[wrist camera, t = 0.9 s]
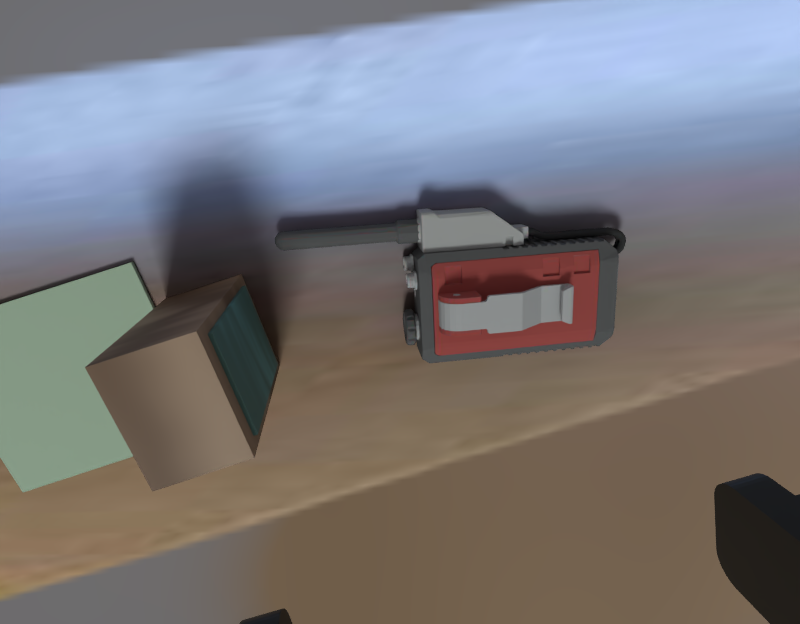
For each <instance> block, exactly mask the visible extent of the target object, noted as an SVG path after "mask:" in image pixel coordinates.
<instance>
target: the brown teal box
mask: <svg viewBox="0 0 800 624" xmlns="http://www.w3.org/2000/svg"><path fill="white" fill-rule="evenodd" d="M85 369H86V370H87V372H88V374H89V376H90V378H91V380H92V381H93V383H94V385H95V387H96V389H97V391H98V392H99V394H100V396H101V398H102V400H103V402H104V403H105V405H106V407H107V409H108V411H109V413H110V414H111V416H112V418H113V420H114V422H115V424H116V425H117V427H118V429H119V431H120V433H121V435H122V436H123V438H124V440H125V442H126V444H127V446H128V447H129V449H130V451H131V453H132V455H133V457H134V458H135V460H136V462H137V464H138V466H139V468H140V469H141V471H142V473H143V475H144V477H145V479H146V480H147V482H148V484H149V486H150V488H151V490H152V491H155V490H158V489H162V488H165V487H168V486H171V485H174V484H177V483H180V482H183V481H186V480H189V479H192V478H195V477H198V476H201V475H204V474H207V473H210V472H213V471H216V470H219V469H222V468H225V467H228V466H231V465H235V464H238V463H241V462H244V461H247V460H250V459H253V458H255V454H256V450H257V447H258V443H259V439H260V436H261V432H262V428H263V425H264V421H265V417H266V414H267V410H268V406H269V403H270V399H271V396H272V392H273V388H274V385H275V381H276V377H277V374H278V370H279V364H278V361H277V359H276V356H275V354H274V351H273V349H272V347H271V344H270V342H269V339H268V337H267V334H266V332H265V330H264V327H263V325H262V322H261V320H260V318H259V315H258V313H257V310H256V308H255V305H254V303H253V301H252V298H251V296H250V293H249V291H248V288H247V286H246V284H245V281H244V279H243V276H242V274H240V275H237V276H234V277H231V278H228V279H225V280H222V281H218V282H215V283H212V284H209V285H206V286H203V287H200V288H197V289H194V290H190V291H187V292H184V293H181V294H178V295H175V296H172V297H169V298H166V299H165V300H163V301H162V302H161V303H160V304H159V305H158V306H156V307H155V308H154V309H153V310H152V311H150V312H149V313H148V314H147V315H146V316H145V317H143V318H142V319H141V320H140V321H139V322H138V323H136V324H135V325H134V326H133V327H132V328H131V329H129V330H128V331H127V332H126V333H125V334H124V335H122V336H121V337H120V338H119V339H118V340H116V341H115V342H114V343H113V344H112V345H111V346H109V347H108V348H107V349H106V350H105V351H104V352H102V353H101V354H100V355H99V356H98V357H97V358H95V359H94V360H93V361H92V362H91V363H90V364H88V365H87V366H86V367H85Z"/></svg>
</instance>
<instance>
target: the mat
mask: <svg viewBox="0 0 800 624" xmlns="http://www.w3.org/2000/svg"><path fill="white" fill-rule="evenodd" d="M154 308H155V306H154V304H153V302H152V300H151V298H150V296H149V294H148V292H147V290H146V287H145V285H144V283H143V281H142V279H141V277H140V275H139V273H138V271H137V269H136V267H135V264H134V262H130V263H127V264H124V265H121V266H118V267H114V268H111V269H108V270H105V271H102V272H99V273H96V274H93V275H89V276H86V277H83V278H80V279H77V280H74V281H71V282H68V283H65V284H61V285H58V286H55V287H52V288H49V289H46V290H43V291H40V292H36V293H33V294H30V295H27V296H24V297H21V298H18V299H15V300H11V301H8V302H5V303H2V304H0V458H1V459H2V461H3V462H4V464H5V465H6V467H7V468H8V470H9V472H10V473H11V475H12V476H13V478H14V479H15V481H16V482H17V484H18V486H19V487H20V489H21V490H22V492H26V491H29V490H32V489H35V488H38V487H41V486H44V485H47V484H50V483H53V482H56V481H59V480H62V479H65V478H68V477H72V476H75V475H78V474H81V473H84V472H87V471H90V470H93V469H96V468H99V467H102V466H105V465H108V464H111V463H114V462H117V461H120V460H124V459H127V458H130V457H133V455H132V453H131V451H130V449H129V447H128V446H127V444H126V442H125V440H124V438H123V436H122V435H121V433H120V431H119V429H118V427H117V425H116V424H115V422H114V420H113V418H112V416H111V414H110V413H109V411H108V409H107V407H106V405H105V403H104V402H103V400H102V398H101V396H100V394H99V392H98V391H97V389H96V387H95V385H94V383H93V381H92V380H91V378H90V376H89V374H88V372H87V370H86V369H85V367H86V366H87V365H88V364H90V363H91V362H92V361H93V360H94V359H95V358H97V357H98V356H99V355H100V354H101V353H102V352H104V351H105V350H106V349H107V348H108V347H109V346H111V345H112V344H113V343H114V342H115V341H116V340H118V339H119V338H120V337H121V336H122V335H124V334H125V333H126V332H127V331H128V330H129V329H131V328H132V327H133V326H134V325H135V324H136V323H138V322H139V321H140V320H141V319H142V318H143V317H145V316H146V315H147V314H148V313H149V312H150V311H152V310H153V309H154Z"/></svg>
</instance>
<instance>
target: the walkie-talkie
mask: <svg viewBox="0 0 800 624" xmlns="http://www.w3.org/2000/svg"><path fill="white" fill-rule="evenodd" d="M416 213H417V219H408V220H397V221H396V222H395V223H390V224H376V225H363V226H350V227H336V228H323V229H310V230H297V231H284V232H280V233H278V234H277V236H276V238H275V243H276V246H277V247H278V248H279V249H281V250H295V249H307V248H319V247H332V246H344V245H356V244H368V243H381V242H393V241H396V242H397V243H398V244H405V243H417V242H418V248H417V249H415V250H414V251H413V252H412V254H410V256H404V257H403V267H404V270H405V271H407V270H411V272H413V273H407V274H406V283H407V287H408V288H414V299H415V314H414V312H413V311H412V310H411V309H407V310H405V311H404V313H403V325H404V333H405V340H406V343H407V344H408V345H414V344H415V343H416V341H417V346H418V349H419V352H420V354H421V357H422V359H423V360H425V361H427V362H429V363H437V362H447V361H457V360H467V359H477V358H487V357H497V356H503V355H505V354H508V355H512V354H515V353H517V354H521V353H525V352H526V353H530V352H536V353H537V352H539V351H545V352H547V351H548V350H553V351H556V350H557V349H562V350H565V349H566V348H571V349H574V348H575V347H579V348H583V347H585V346H588V347H592V346H595V345H596V346H600V345H601V344H602V343H603V342H605V341H606V340H607V339H609V338H610V337H611V336H612V334H613V331H614V321H615V306H616V292H617V277H618V263H619V262H618V254H619V253H620V252H621V251H622V250H623V249H624V246H625V242H626V238H625V235H624V234H623V233H622V232H621V231H619V230H616V229H612V228H596V229H584V230H572V231H559V232H539V231H537V230H534V229H532V228H528V226H525V225H523V224H516V225H510V224H509V223H507V222H506V221H505V220H503V219H502V218H500V217H499V216H497V215H496V214H494V213H493V212H491V211H490V210H488V209H485V208H483V207H479V208H464V209H450V210H435V211H432V210H430V209H429V208H427V209H417V210H416ZM530 235H531V236H534V237H533V239H528V236H530ZM603 235H613V236H614V237H615V239H616V240H615V244H614V246H612V245H611V244H609V243H608V242H607V241H606V240H605V239H602V238H599V237H596V236H603Z"/></svg>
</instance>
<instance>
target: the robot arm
mask: <svg viewBox="0 0 800 624" xmlns="http://www.w3.org/2000/svg"><path fill="white" fill-rule="evenodd" d="M714 499H715V524H716V549H717V555H718V558H719V561H720V564H721V566H722V568H723V570H724V572H725V574H726V576H727V577H728V579H729V580H730V581H731V583H732V584H733V585H734V586H735V588H736V589H737V590H738V591H739V592H740V593H741V594H742V595H743V596H744V597H745V598H746V599H747V600H748V601H749V602H750V603H751V604H752V605H753V606H754V607H755V609H756V610H758V612H759V613H760V614H761V615H762V616H763V617H764V618H765V619H766V620H767V621H768V622H769V623H770V624H800V495H796V496H795V495H793V494H792V493H791V492H789V491H788V490H787V489H785V488H784V487H782V486H781V485H779V484H778V483H777V482H775V481H774V480H773V479H771V478H769V477H768V476H766V475H764V474H759V473H757V474H753V475H750V476H746V477H743V478H739V479H736V480H732V481H729V482H725V483H722V484H719V485H717V487H716V488H715V492H714ZM240 624H292V622H291V619H290V616H289V614H288V612H287V610H286V609H280V610H277V611H273V612H270V613H266V614H263V615H259V616H256V617H252V618H249V619H245V620H242V621H241V622H240Z"/></svg>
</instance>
